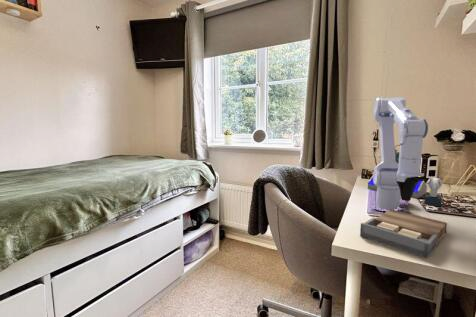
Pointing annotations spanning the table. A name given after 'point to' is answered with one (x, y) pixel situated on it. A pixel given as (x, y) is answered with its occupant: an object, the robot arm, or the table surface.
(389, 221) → the walnut board
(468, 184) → the table surface
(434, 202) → the grey and teal figurine
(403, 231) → the tile
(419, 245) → the slate bin
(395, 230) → the tile
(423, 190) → the roof
